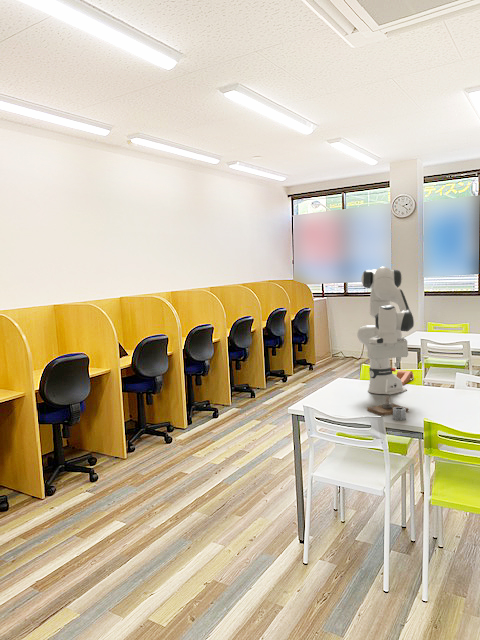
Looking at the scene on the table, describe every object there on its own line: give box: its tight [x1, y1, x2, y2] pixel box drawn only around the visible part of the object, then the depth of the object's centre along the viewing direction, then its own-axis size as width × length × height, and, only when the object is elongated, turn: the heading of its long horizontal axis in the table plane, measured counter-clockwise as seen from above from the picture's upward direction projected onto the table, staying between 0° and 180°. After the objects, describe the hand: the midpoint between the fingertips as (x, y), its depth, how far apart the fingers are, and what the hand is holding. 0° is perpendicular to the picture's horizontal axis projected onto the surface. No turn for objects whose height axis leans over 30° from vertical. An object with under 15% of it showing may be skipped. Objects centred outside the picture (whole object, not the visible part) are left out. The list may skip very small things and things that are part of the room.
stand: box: [366, 395, 409, 417], centre depth 247 cm, size 16×12×8 cm
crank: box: [396, 369, 414, 386], centre depth 305 cm, size 20×8×8 cm, turn 144°
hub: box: [392, 406, 407, 421], centre depth 233 cm, size 6×6×5 cm
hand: (388, 367), depth 236 cm, fingers open, 8 cm apart
